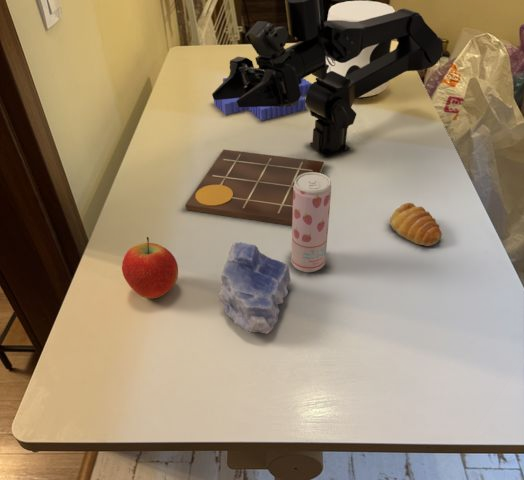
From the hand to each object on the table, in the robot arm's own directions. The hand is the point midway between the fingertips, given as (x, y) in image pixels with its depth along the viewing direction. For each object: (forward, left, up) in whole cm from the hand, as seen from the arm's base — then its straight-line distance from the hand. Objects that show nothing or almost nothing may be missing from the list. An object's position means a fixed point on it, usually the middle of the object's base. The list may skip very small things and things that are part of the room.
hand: (224, 100), depth 91 cm
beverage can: (0, +29, -17) cm, 33 cm away
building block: (-25, -32, -17) cm, 44 cm away
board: (-4, +4, -17) cm, 17 cm away
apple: (+25, +23, -17) cm, 37 cm away
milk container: (-47, -24, -17) cm, 56 cm away
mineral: (+13, +34, -17) cm, 40 cm away
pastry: (-21, +31, -17) cm, 41 cm away
